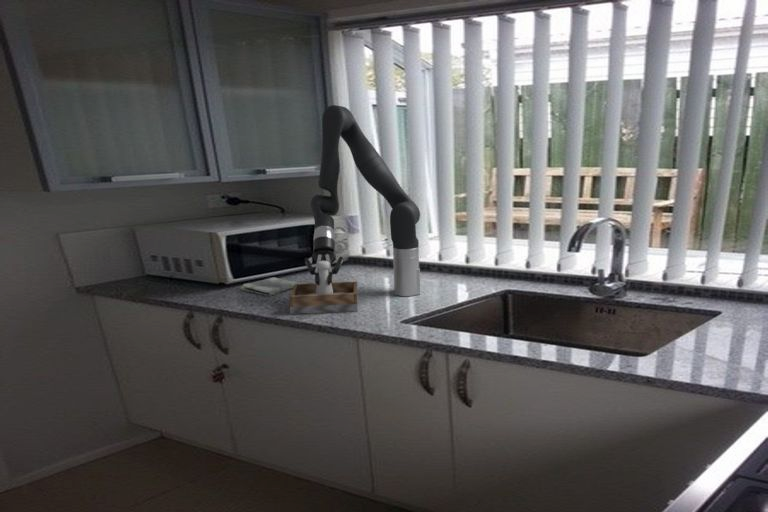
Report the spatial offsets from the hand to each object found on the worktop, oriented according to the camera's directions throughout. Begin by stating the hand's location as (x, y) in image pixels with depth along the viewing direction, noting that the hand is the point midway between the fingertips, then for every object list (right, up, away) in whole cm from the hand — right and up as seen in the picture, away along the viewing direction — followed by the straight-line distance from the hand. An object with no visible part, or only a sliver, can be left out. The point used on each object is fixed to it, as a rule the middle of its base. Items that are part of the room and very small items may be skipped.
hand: (323, 283), depth 176 cm
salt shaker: (0, -5, +3) cm, 6 cm away
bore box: (0, -8, +4) cm, 8 cm away
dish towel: (-24, -4, +29) cm, 38 cm away
